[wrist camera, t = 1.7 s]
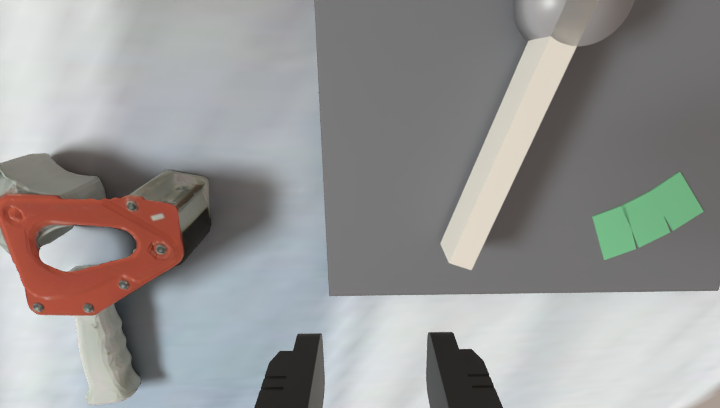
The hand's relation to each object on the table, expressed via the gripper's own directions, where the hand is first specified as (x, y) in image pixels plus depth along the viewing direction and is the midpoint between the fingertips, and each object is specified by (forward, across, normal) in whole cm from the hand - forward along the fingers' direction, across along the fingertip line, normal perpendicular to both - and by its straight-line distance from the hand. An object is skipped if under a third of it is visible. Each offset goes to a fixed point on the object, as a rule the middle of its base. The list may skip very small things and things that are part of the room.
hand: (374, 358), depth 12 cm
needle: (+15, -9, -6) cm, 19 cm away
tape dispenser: (+18, +19, +4) cm, 27 cm away
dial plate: (+17, -11, -4) cm, 21 cm away
